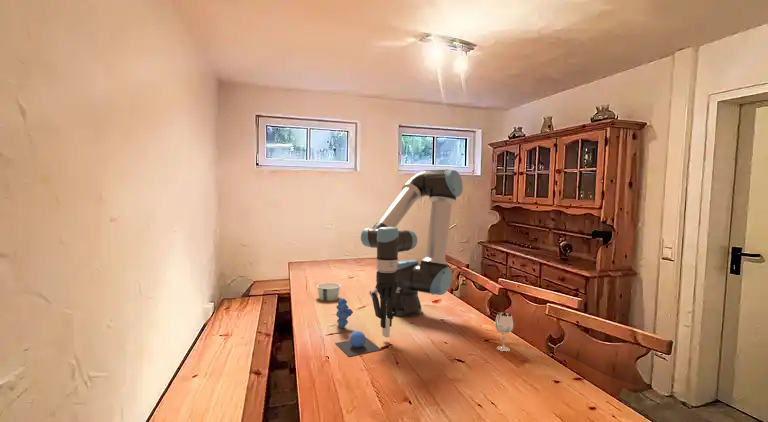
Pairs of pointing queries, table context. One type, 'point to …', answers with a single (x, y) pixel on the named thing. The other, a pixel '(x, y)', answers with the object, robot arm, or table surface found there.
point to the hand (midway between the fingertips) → (385, 335)
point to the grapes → (343, 313)
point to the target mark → (353, 351)
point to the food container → (328, 291)
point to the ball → (357, 339)
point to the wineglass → (504, 327)
